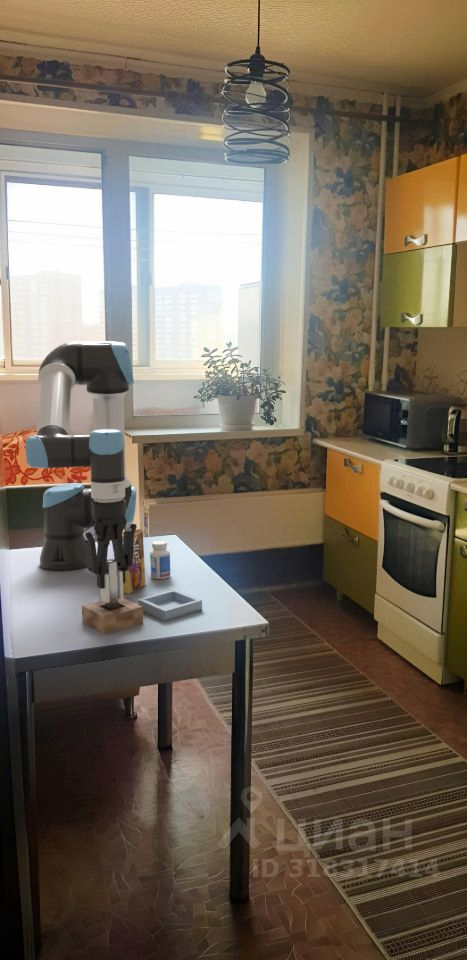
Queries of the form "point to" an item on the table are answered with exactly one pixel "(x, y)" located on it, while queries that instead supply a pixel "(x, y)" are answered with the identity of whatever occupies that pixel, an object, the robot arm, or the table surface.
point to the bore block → (112, 616)
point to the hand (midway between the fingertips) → (111, 599)
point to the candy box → (135, 565)
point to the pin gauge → (112, 584)
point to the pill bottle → (160, 560)
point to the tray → (170, 605)
